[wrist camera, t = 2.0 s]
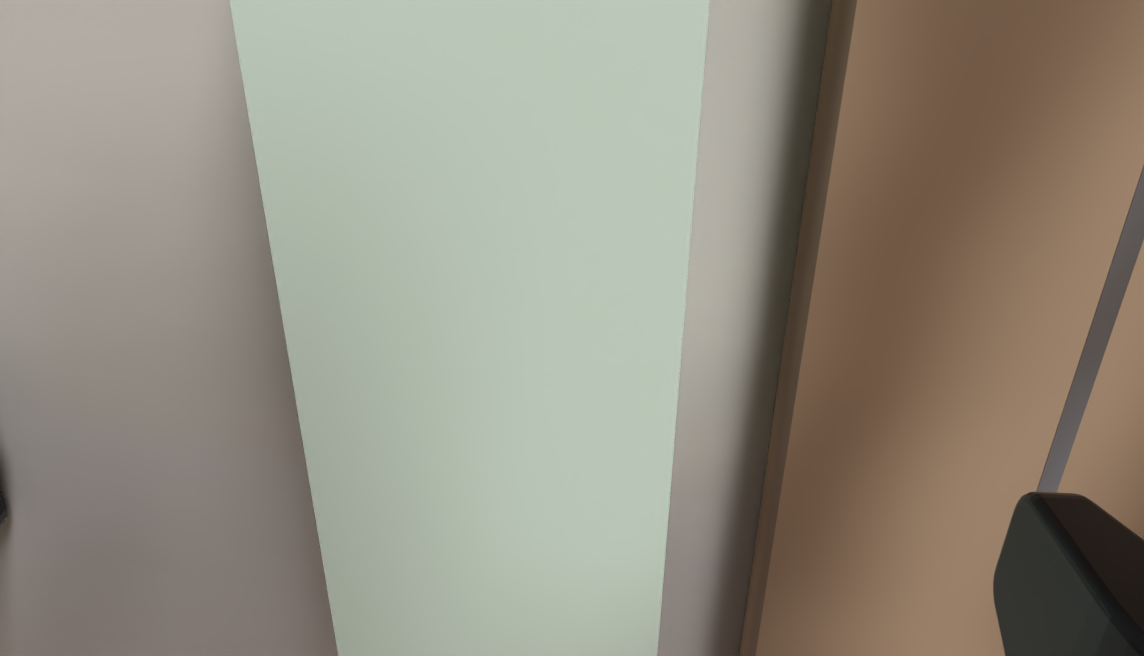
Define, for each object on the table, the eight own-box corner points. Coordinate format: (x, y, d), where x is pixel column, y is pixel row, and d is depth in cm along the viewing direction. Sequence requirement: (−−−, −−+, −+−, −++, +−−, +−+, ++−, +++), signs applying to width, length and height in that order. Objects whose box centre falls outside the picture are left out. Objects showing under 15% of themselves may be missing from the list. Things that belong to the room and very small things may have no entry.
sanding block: (422, 436, 18) (345, 699, 13) (349, -399, 12) (154, -446, 7) (650, 447, 18) (652, 716, 13) (704, -397, 12) (745, -443, 7)
